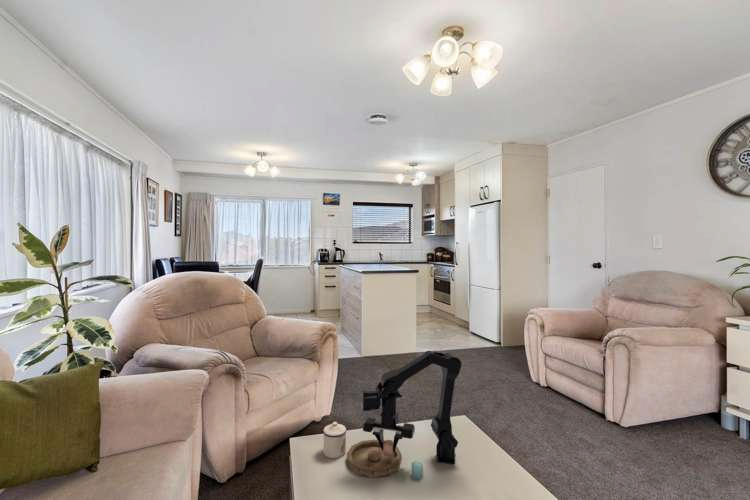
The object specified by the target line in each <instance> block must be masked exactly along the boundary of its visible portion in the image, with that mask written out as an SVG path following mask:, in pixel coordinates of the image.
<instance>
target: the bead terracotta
mask: <svg viewBox="0 0 750 500" xmlns="http://www.w3.org/2000/svg"><path fill="white" fill-rule="evenodd" d="M393 444H394V440H391V439H384V442H383V454H384V455H385V456H393V455H394V452H393Z"/></svg>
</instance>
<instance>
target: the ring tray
mask: <svg viewBox="0 0 750 500" xmlns="http://www.w3.org/2000/svg"><path fill="white" fill-rule="evenodd" d="M402 457H403V456H402V453H401V450H400V449H399V448H398V445H397V446H396V450H395V452H394V455H393V456H385V455H384V454H383V450H382V449H381V446H380V444H379V442H378V440H377V439H369V440H361V441H359V442H356V443H355V444H353V445H351V447H350V448H349V450H348V451H347V452H346V461H347V465H348V467H349V469H350V470H351V471H352V472H353V473H355V474H357V475H359V476H362V477H365V478H370V479H371V478H373V479H374V478H375V479H377V478H385V477H389V476H391V475H392V474H394V473H395V472H397V471H398V470H399V468H400V467H401V463H402Z"/></svg>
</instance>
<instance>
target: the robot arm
mask: <svg viewBox="0 0 750 500" xmlns="http://www.w3.org/2000/svg"><path fill="white" fill-rule="evenodd" d="M431 365H436V366H439V367H441V373H442V381H441V389H440V395H439V403H438V411H437V414H436V415H432V417H431V423H430V427H431V430H432V432H433V433H434V435H435V436H436V438H437V441H438V442H437V443H436V451H435V453H436V455H435V457H436V458H437V459H436V460H437V462H441V463H445V464H446V463H447V464H451V465H452V464H453V465H454V464H456V457H457V456H456V455H457V454H456V448H457V447H458V444H459V441H458V440H457V438H456V437H455V436H454V434H453V432H452V431H453V426H452V422H451V412H452V405H453V397H454V391H455V382H456V380H457V378H458V376H459V375H460V371H461V369H462V361H461V359H460V358H458V356H455V354H453V353H452V352H445V353H443V352H438V351H433V350H426V351H425V353H423V354H421V355H419V356H417V358H415V359H413V360H411V361H410V362H408V363H406V364H405V365H403V366H402V367H400V368H397V369H392V370H389V371H387V372H385V373H383V374H382V375H381V377H380V381H379V382H378V384H377V385H376V386H375V389H374V390H363V391H362V393H361V394H362V395H361V398H360V402H361V407H360V408H361V411H362V412H370V411H378V410H379V409H380V408H381V409H380V411H381V413H380V421H381V422H378V419H377V418H371V417H367V418H366V419H365V421H364V422H363V425H362V431H363V432H366V433H372V435H373V436H374V437H375V438H376V440H378V442H379V444H380V446H381V449H382V450H383V442H384V441H385V438H384V431H391V432H395V434H394V435H393V436H394V437H393V442H394V444H393V452H395V450H396V446H397V447H398V443H399V440H402V439H403V438H404V439H409V440H411V439H413V437H414V434H415V429H416V427H415V425H414V424H413V423H407V422H404V423H403V425H398V424H399V421H400V411H398V408H397V407H398V406H397V405H398V404H397V403H398V399H399V398H403V395H402V393H401V392H400V391H399V390H400V388H402V386H403V385H404V384H405V382H406V381H407V380H409V379H410V378H411V377H413V376H415V375H416V374H419V373H420V372H421V371H423V370H424V369H426V368H428V367H429V366H431Z"/></svg>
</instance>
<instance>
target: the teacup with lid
mask: <svg viewBox="0 0 750 500" xmlns="http://www.w3.org/2000/svg"><path fill="white" fill-rule="evenodd" d="M322 432H323V433H322V434H323V455H324V456H325V457H326V458H329V459H339V458H342V457H344V455H345V454H346V453H347V452H346V451H347V448H346V444H347V441H346V440H347V436H346V435H347V428H346V426H345V425H343V424H341V423H338V422H337V421H333V422H332V423H330V424H327V425H326V426H324V428H323V431H322Z"/></svg>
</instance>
